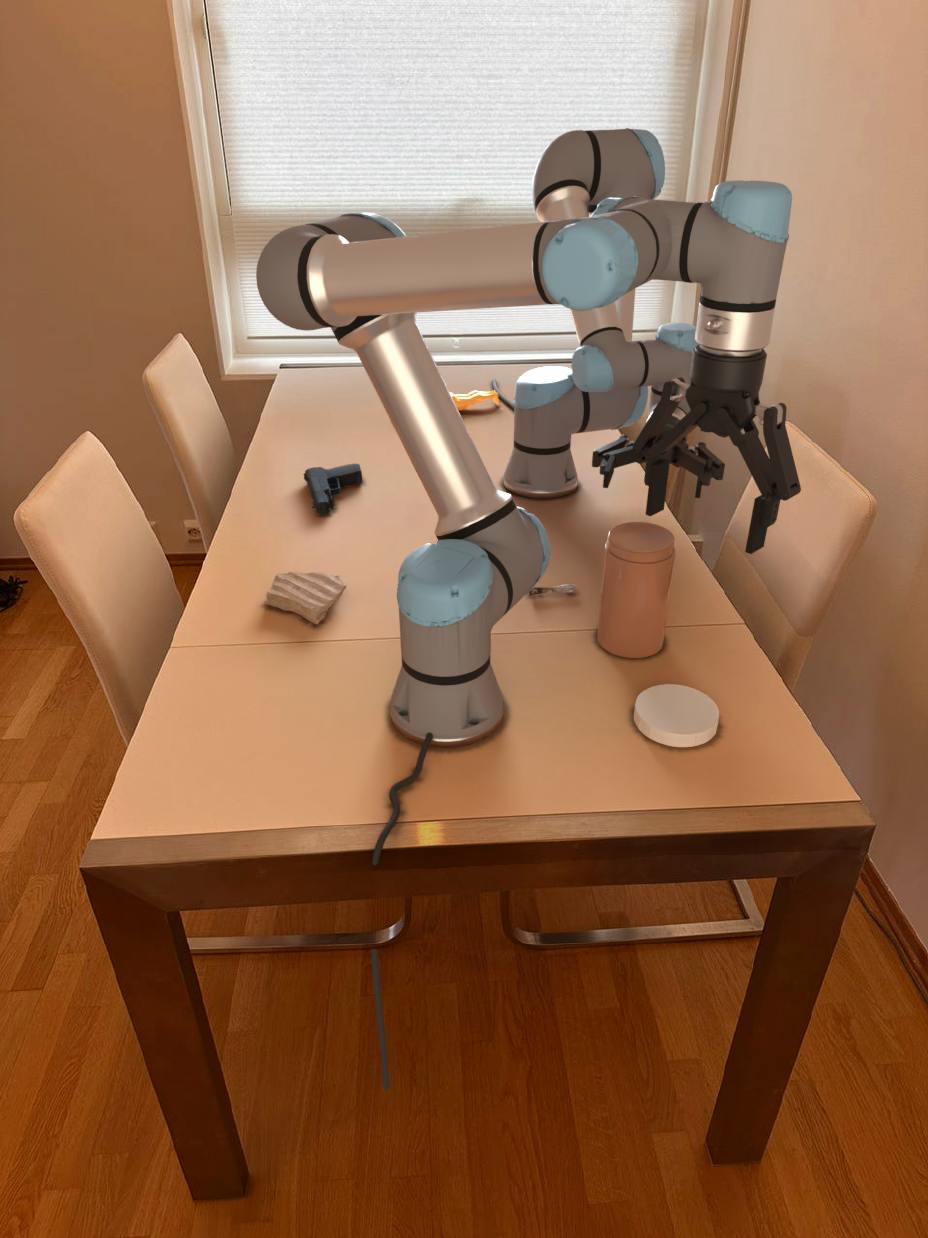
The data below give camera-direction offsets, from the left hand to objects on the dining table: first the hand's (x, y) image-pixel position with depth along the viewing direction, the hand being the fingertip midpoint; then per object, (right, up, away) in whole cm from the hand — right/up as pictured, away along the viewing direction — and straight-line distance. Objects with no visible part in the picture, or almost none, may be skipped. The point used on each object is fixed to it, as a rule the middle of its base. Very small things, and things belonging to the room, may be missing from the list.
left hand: (702, 530), depth 104 cm
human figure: (-31, +42, +122) cm, 133 cm away
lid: (0, -23, +14) cm, 27 cm away
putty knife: (-13, -6, +43) cm, 46 cm away
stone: (-54, -8, +41) cm, 68 cm away
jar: (-3, -14, +32) cm, 35 cm away
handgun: (-54, +15, +78) cm, 95 cm away
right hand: (0, +10, +28) cm, 30 cm away
